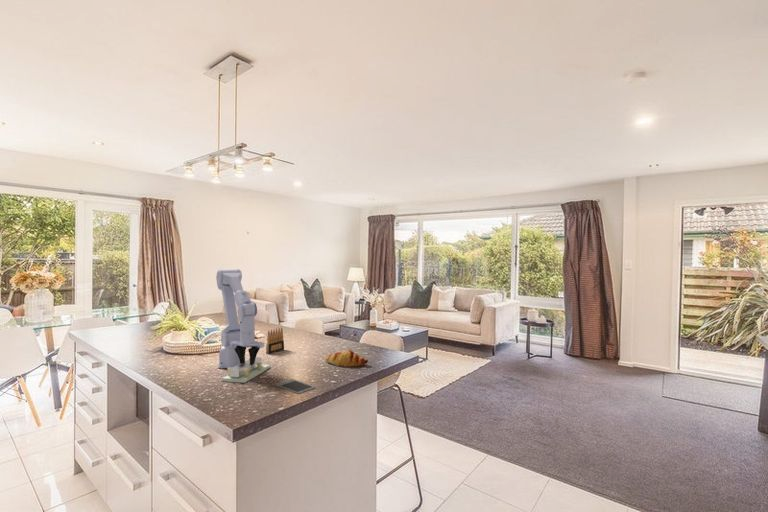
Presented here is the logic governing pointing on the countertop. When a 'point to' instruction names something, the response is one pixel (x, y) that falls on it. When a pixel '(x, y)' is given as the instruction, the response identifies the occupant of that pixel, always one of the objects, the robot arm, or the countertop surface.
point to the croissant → (346, 359)
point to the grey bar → (244, 367)
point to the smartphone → (295, 386)
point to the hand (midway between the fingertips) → (247, 364)
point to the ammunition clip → (275, 341)
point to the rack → (246, 374)
